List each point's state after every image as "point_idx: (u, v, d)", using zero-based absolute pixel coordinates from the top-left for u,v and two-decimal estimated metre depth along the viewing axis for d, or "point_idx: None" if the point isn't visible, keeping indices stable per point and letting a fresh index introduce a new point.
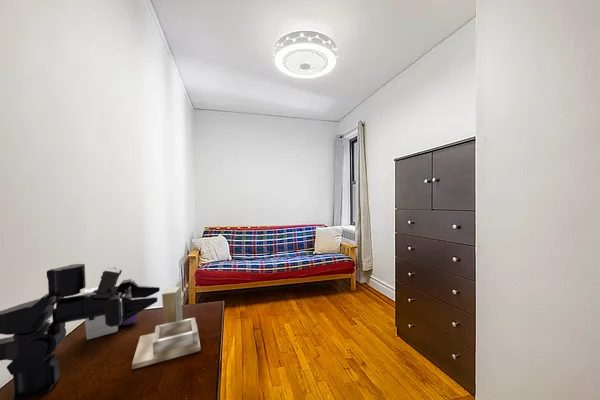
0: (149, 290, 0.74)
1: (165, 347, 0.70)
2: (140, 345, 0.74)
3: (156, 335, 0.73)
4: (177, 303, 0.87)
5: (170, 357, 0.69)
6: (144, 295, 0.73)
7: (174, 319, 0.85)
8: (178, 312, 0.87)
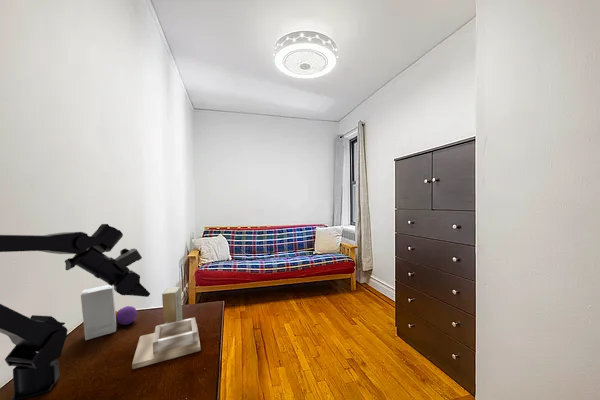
0: None
1: (165, 347, 0.70)
2: (140, 345, 0.74)
3: (156, 335, 0.73)
4: (177, 303, 0.87)
5: (170, 357, 0.69)
6: None
7: (174, 319, 0.85)
8: (178, 312, 0.87)
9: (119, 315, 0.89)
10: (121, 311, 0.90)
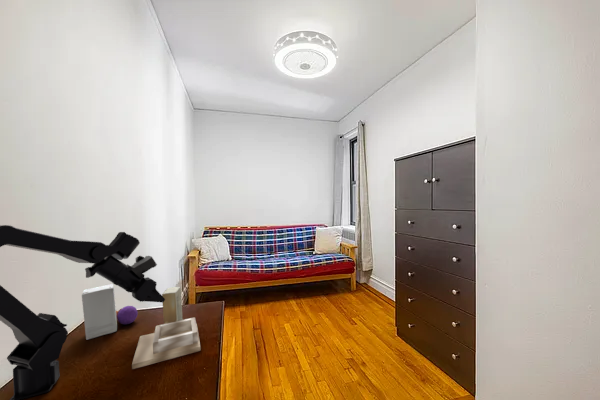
0: None
1: (165, 347, 0.70)
2: (140, 345, 0.74)
3: (156, 335, 0.73)
4: (177, 303, 0.87)
5: (170, 357, 0.69)
6: None
7: (174, 319, 0.85)
8: (178, 312, 0.87)
9: (120, 315, 0.89)
10: (122, 311, 0.90)
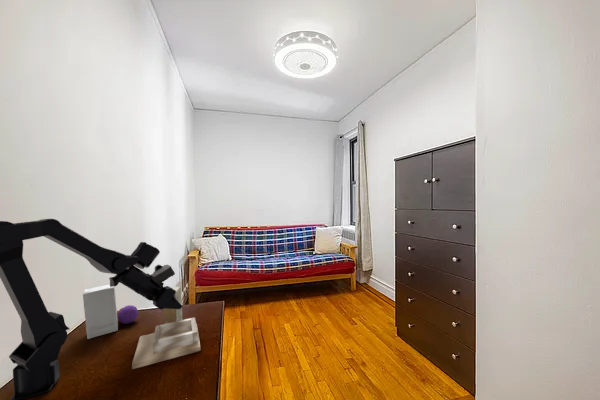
0: None
1: (165, 347, 0.70)
2: (140, 345, 0.74)
3: (156, 335, 0.73)
4: None
5: (170, 357, 0.69)
6: None
7: (174, 319, 0.85)
8: (178, 312, 0.87)
9: (120, 314, 0.90)
10: (122, 310, 0.91)
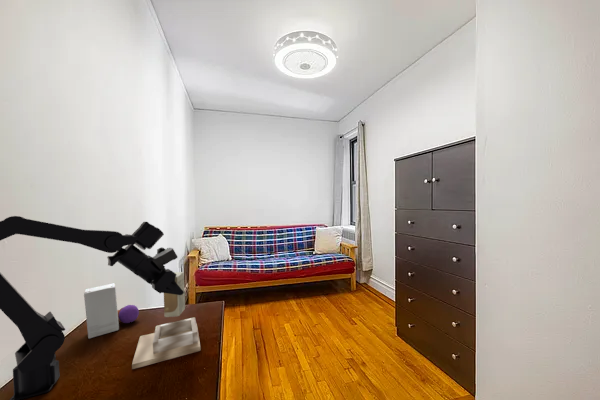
0: None
1: (165, 347, 0.70)
2: (140, 345, 0.74)
3: (156, 335, 0.73)
4: None
5: (170, 357, 0.69)
6: None
7: (175, 305, 0.80)
8: (180, 298, 0.81)
9: (121, 314, 0.90)
10: (123, 310, 0.91)
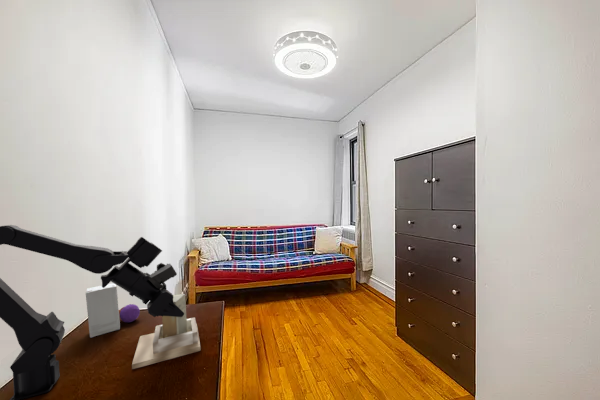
0: None
1: (165, 347, 0.70)
2: (140, 345, 0.74)
3: (156, 335, 0.73)
4: None
5: (170, 357, 0.69)
6: None
7: (175, 332, 0.73)
8: (180, 324, 0.75)
9: (122, 313, 0.91)
10: (124, 309, 0.92)
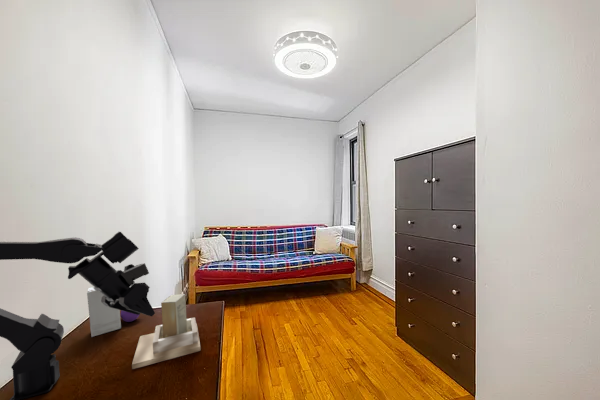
0: None
1: (165, 347, 0.70)
2: (140, 345, 0.74)
3: (156, 335, 0.73)
4: (178, 314, 0.75)
5: (170, 357, 0.69)
6: (126, 308, 0.74)
7: (175, 332, 0.73)
8: (180, 324, 0.75)
9: (123, 312, 0.91)
10: None
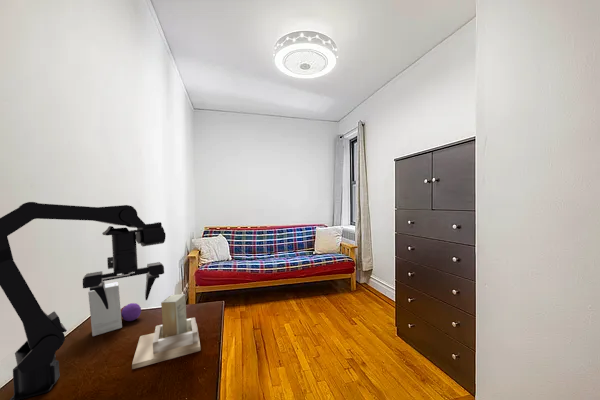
0: (106, 299, 0.72)
1: (165, 347, 0.70)
2: (140, 345, 0.74)
3: (156, 335, 0.73)
4: (178, 314, 0.75)
5: (170, 357, 0.69)
6: (106, 296, 0.71)
7: (175, 332, 0.73)
8: (180, 324, 0.75)
9: (124, 312, 0.92)
10: (126, 308, 0.93)
